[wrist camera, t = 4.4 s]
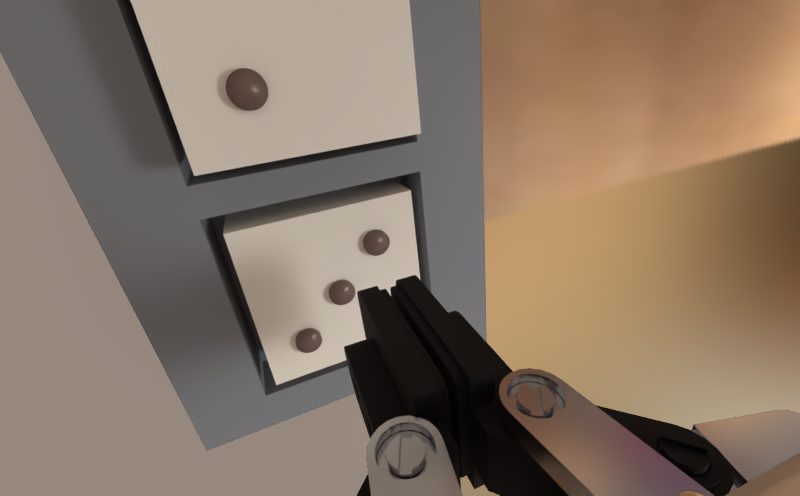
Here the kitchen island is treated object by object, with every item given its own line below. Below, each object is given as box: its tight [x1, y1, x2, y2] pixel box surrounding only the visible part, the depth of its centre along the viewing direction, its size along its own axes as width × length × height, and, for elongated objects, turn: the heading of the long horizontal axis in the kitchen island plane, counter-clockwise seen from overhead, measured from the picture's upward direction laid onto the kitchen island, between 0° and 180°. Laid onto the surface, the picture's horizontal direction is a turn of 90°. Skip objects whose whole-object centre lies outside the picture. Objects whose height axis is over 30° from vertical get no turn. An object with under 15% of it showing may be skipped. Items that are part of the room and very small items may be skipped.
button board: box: [0, 0, 486, 450], centre depth 11 cm, size 12×26×4 cm, turn 8°
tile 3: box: [223, 178, 420, 385], centre depth 14 cm, size 6×6×2 cm
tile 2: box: [130, 0, 421, 176], centre depth 9 cm, size 6×6×2 cm
